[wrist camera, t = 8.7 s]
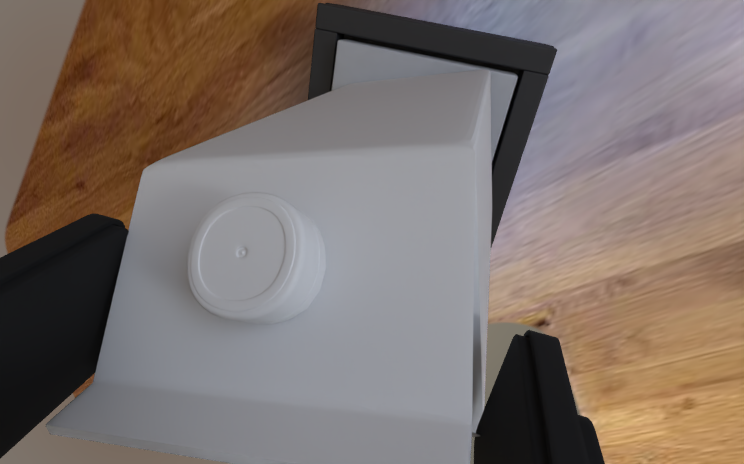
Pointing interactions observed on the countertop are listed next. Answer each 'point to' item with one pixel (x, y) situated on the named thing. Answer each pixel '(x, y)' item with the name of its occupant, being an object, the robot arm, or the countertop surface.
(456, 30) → the scale
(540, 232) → the countertop surface
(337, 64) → the scale pan
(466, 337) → the milk carton
